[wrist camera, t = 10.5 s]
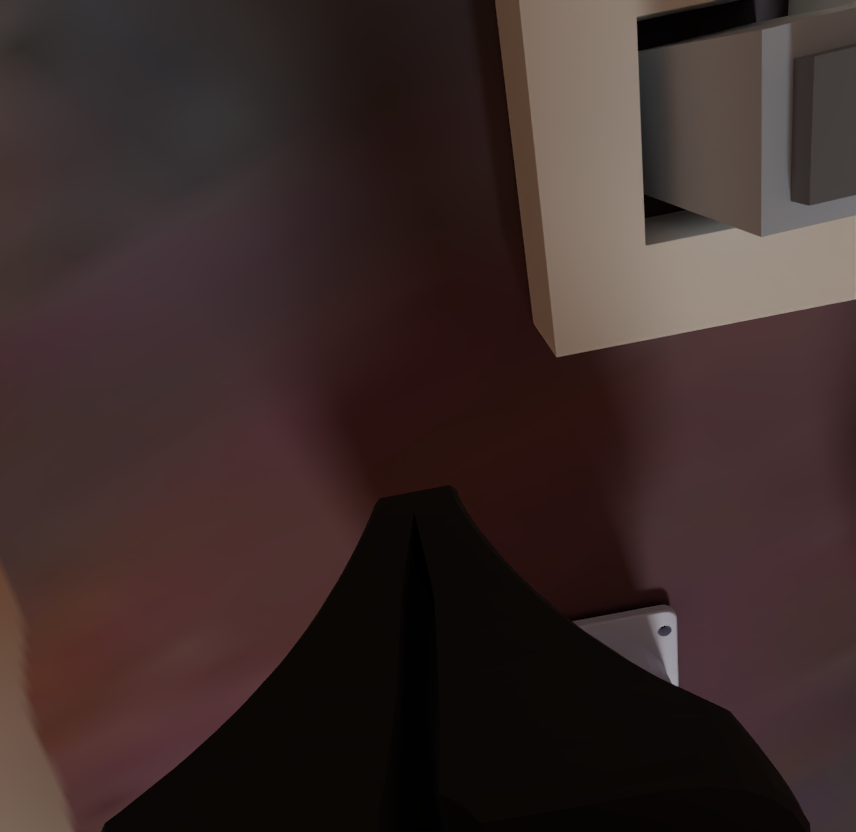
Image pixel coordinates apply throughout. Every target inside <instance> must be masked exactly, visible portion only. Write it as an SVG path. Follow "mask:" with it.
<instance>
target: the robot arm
mask: <svg viewBox="0 0 856 832" xmlns="http://www.w3.org/2000/svg"><path fill="white" fill-rule="evenodd" d="M663 626H665V627H664V628H662V629H660V628H661V627H663ZM101 832H810V823H809V822H808V820H807V818H806V817H805V815H804V814H803V811H802V809H801V807H800V805H799V803H798V801H797V800H796V798H795V796H794V794H793V793H792V791H791V789H790V788H789V786H788V785H787V783H786V782H785V781H784V779H783V778H782V776H781V775H780V773H779V772H778V771H777V769H776V768H775V767H774V765H773V764H772V763H771V761H770V760H769V759H768V757H767V756H766V755H765V753H764V752H763V751H762V750H761V748H760V747H759V746H758V744H757V743H756V742H755V741H754V739H753V738H752V737H751V736H750V735H749V733H748V732H747V731H746V730H745V728H744V727H743V726H742V725H741V724H740V722H739V721H738V720H737V719H736V718H735V717H734V716H733V714H732V713H731V712H730V711H728V710H726V709H724V708H722V707H720V706H718V705H716V704H714V703H712V702H709V701H707V700H705V699H703V698H701V697H699V696H697V695H695V694H692V693H690V692H688V691H686V690H684V689H682V688H680V687H679V682H678V642H677V617H676V614H675V612H674V610H673V609H672V608H671V607H670V606H668V605H658V606H652V607H647V608H641V609H636V610H631V611H625V612H620V613H615V614H609V615H604V616H598V617H593V618H588V619H582V620H577V621H571V620H570V619H568V618H567V617H566V616H564V615H563V614H562V613H561V612H559V611H558V610H557V609H556V608H554V607H553V606H552V605H551V604H550V603H549V602H547V601H546V600H545V599H544V598H543V597H542V596H540V595H539V594H538V593H537V592H536V591H535V590H534V589H533V588H532V587H531V586H530V585H529V584H528V583H527V582H525V581H524V580H523V579H522V578H521V577H520V576H519V574H518V573H517V572H516V571H515V570H514V569H513V568H512V567H511V566H510V565H509V564H508V563H507V562H506V561H505V560H504V559H503V558H502V556H501V555H500V554H499V553H498V552H497V551H496V549H495V548H494V547H493V546H492V545H491V543H490V542H489V541H488V540H487V538H486V537H485V536H484V535H483V534H482V532H481V531H480V530H479V528H478V527H477V526H476V524H475V523H474V521H473V520H472V518H471V517H470V515H469V514H468V512H467V511H466V509H465V507H464V506H463V504H462V502H461V500H460V498H459V496H458V493H457V490H456V489H454V488H453V487H451V486H450V485H448V486H443V487H437V488H432V489H427V490H422V491H416V492H411V493H406V494H401V495H395V496H390V497H385V498H380V499H379V501H378V502H377V503H376V505H375V506H374V509H373V512H372V514H371V516H370V519H369V521H368V523H367V525H366V528H365V530H364V532H363V534H362V536H361V538H360V540H359V542H358V544H357V546H356V548H355V550H354V552H353V554H352V556H351V558H350V560H349V561H348V563H347V565H346V567H345V569H344V571H343V573H342V574H341V576H340V578H339V580H338V581H337V583H336V585H335V586H334V588H333V590H332V591H331V593H330V594H329V596H328V598H327V599H326V601H325V602H324V604H323V606H322V607H321V609H320V610H319V612H318V613H317V615H316V616H315V618H314V619H313V621H312V622H311V624H310V625H309V627H308V628H307V629H306V631H305V632H304V634H303V635H302V636H301V638H300V639H299V640H298V642H297V643H296V644H295V646H294V647H293V648H292V649H291V651H290V652H289V653H288V655H287V656H286V657H285V658H284V660H283V661H282V662H281V663H280V664H279V666H278V667H277V668H276V669H275V670H274V671H273V672H272V674H271V675H270V676H269V677H268V678H267V679H266V680H265V681H264V682H263V683H262V685H261V686H260V687H259V688H258V689H257V690H256V691H255V692H254V693H253V694H252V696H251V697H250V698H249V699H248V700H247V701H246V702H245V703H244V704H243V705H242V706H241V707H240V708H239V709H238V710H237V711H236V712H235V713H234V714H233V715H232V716H231V717H230V718H229V719H228V720H227V721H226V722H225V723H224V724H223V725H222V726H221V727H220V728H219V729H218V730H217V731H216V732H215V733H214V734H212V735H211V736H210V737H209V738H208V739H207V740H206V741H205V742H204V743H203V744H201V745H200V746H199V747H198V748H197V749H196V750H195V751H194V752H193V753H192V754H190V755H189V756H188V757H187V758H186V759H185V760H184V761H182V762H181V763H180V764H179V765H178V766H177V767H175V768H174V769H173V770H172V771H171V772H169V773H168V774H167V775H166V776H164V777H163V778H162V779H161V780H159V781H158V782H157V783H156V784H154V785H153V786H152V787H151V788H149V789H148V790H147V791H146V792H144V793H143V794H142V795H141V796H139V797H138V798H137V799H136V800H134V801H133V802H132V803H131V804H129V805H128V806H127V807H126V808H124V809H123V810H122V811H121V812H119V813H118V814H117V815H115V816H114V817H113V818H111V819H110V820H109V821H107V822H106V823H105V824H104V827H103V829H102V831H101Z"/></svg>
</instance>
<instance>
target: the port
mask: <svg viewBox="0 0 856 832" xmlns="http://www.w3.org/2000/svg"><path fill="white" fill-rule="evenodd" d="M734 1H739V0H495V5H496V13H497V22H498V30H499V38H500V47H501V55H502V64H503V72H504V81H505V89H506V97H507V106H508V114H509V123H510V131H511V140H512V148H513V156H514V165H515V173H516V182H517V190H518V198H519V207H520V215H521V224H522V232H523V241H524V249H525V257H526V266H527V274H528V283H529V291H530V300H531V308H532V316H533V324H534V325H535V327H536V328H537V329H538V331H539V332H540V334H541V335H542V337H543V338H544V340H545V341H546V343H547V344H548V346H549V347H550V349H551V350H552V352H553V353H554V355H555V356H556V357H561V356H566V355H572V354H577V353H582V352H587V351H592V350H597V349H602V348H607V347H613V346H618V345H623V344H628V343H633V342H638V341H643V340H649V339H654V338H659V337H664V336H669V335H674V334H679V333H685V332H690V331H695V330H700V329H705V328H710V327H715V326H720V325H726V324H731V323H736V322H741V321H746V320H751V319H756V318H762V317H767V316H772V315H777V314H782V313H787V312H792V311H797V310H803V309H808V308H813V307H818V306H823V305H828V304H833V303H839V302H844V301H849V300H854V299H856V215H854V216H850V217H846V218H842V219H837V220H833V221H829V222H824V223H820V224H816V225H811V226H807V227H803V228H798V229H794V230H790V231H786V232H781V233H777V234H773V235H768V236H764V237H760V236H757V235H754V234H751V233H749V232H746V231H743V230H740V229H738V228H735V227H732V226H729V225H727V224H724V223H721V222H719V221H716V220H713V219H710V218H708V217H705V216H702V215H699V214H697V213H694V212H691V211H689V210H683V211H678V212H673V213H668V214H663V215H658V216H653V217H648V218H644V193H643V168H642V142H641V117H640V91H639V66H638V40H637V21H642V20H647V19H652V18H656V17H661V16H666V15H671V14H676V13H681V12H686V11H691V10H695V9H700V8H705V7H710V6H715V5H720V4H725V3H730V2H734ZM854 2H856V0H789V3H788V16H790V15H795V14H800V13H805V12H810V11H815V10H820V9H825V8H829V7H834V6H839V5H844V4H849V3H854Z"/></svg>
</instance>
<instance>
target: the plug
mask: <svg viewBox="0 0 856 832" xmlns="http://www.w3.org/2000/svg"><path fill="white" fill-rule="evenodd" d="M638 66H639V91H640V117H641V142H642V168H643V193H644V194H645V195H648V196H650V197H653V198H656V199H658V200H661V201H664V202H667V203H669V204H672V205H675V206H678V207H680V208H683V209H686V210H689V211H691V212H694V213H697V214H699V215H702V216H705V217H708V218H710V219H713V220H716V221H719V222H721V223H724V224H727V225H729V226H732V227H735V228H738V229H740V230H743V231H746V232H749V233H751V234H754V235H757V236H760V237H764V236H768V235H773V234H777V233H781V232H786V231H790V230H794V229H798V228H803V227H807V226H811V225H816V224H820V223H824V222H829V221H833V220H837V219H842V218H846V217H850V216H854V215H856V2H854V3H849V4H844V5H839V6H834V7H829V8H825V9H820V10H815V11H810V12H805V13H800V14H795V15H790V16H785V17H780V18H775V19H770V20H765V21H760V22H755V23H751V24H747V25H743V26H739V27H735V28H731V29H726V30H722V31H718V32H714V33H710V34H706V35H702V36H698V37H694V38H690V39H685V40H681V41H677V42H673V43H669V44H665V45H661V46H657V47H653V48H649V49H645V50H640V51H638Z"/></svg>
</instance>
